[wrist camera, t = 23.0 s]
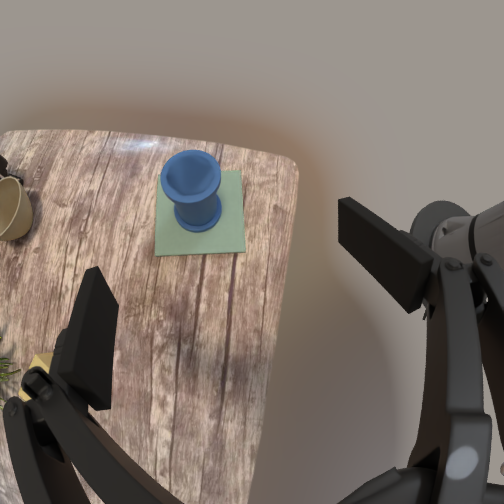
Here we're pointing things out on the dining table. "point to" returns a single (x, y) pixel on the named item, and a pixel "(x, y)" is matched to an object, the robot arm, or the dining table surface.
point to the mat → (209, 242)
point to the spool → (193, 189)
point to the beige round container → (14, 210)
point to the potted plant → (5, 374)
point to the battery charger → (1, 171)
